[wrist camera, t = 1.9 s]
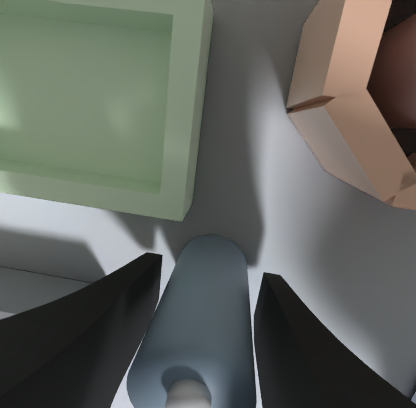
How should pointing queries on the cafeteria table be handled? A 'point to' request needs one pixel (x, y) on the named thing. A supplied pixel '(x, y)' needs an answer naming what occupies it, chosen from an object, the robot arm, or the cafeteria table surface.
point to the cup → (348, 101)
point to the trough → (103, 101)
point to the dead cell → (396, 75)
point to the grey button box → (31, 290)
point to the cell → (199, 334)
